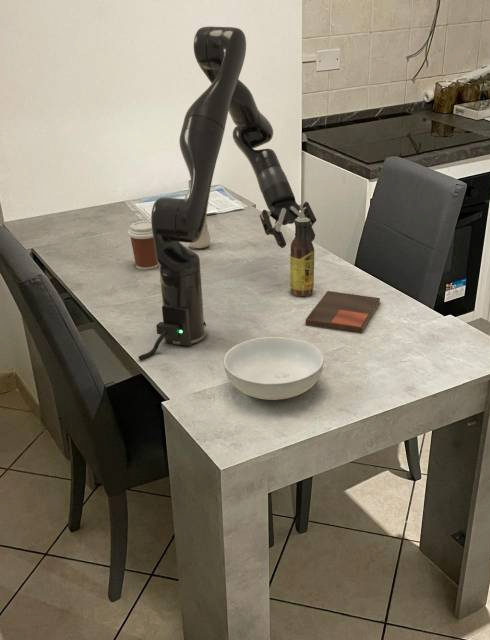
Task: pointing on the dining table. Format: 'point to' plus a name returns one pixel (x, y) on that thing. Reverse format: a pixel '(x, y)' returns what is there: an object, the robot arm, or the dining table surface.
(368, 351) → the dining table surface
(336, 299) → the walnut board
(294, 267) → the sauce bottle
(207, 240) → the plastic bottle
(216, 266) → the dining table surface
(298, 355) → the serving bowl
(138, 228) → the coffee cup
